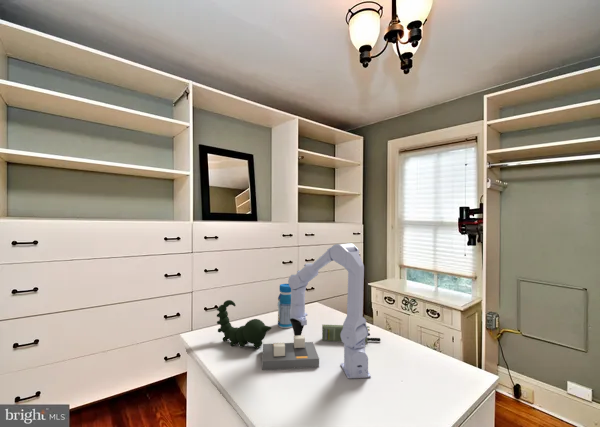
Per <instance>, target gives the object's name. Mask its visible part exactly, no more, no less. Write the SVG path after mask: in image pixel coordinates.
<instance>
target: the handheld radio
mask: <svg viewBox="0 0 600 427" xmlns="http://www.w3.org/2000/svg"><path fill="white" fill-rule="evenodd" d="M321 325H322V327H321V330H322V331H321V332H322V334H321V337H322V338H321V340H322V341H323V342H342V340H341V336H340V334H341V331H342V329H343V324H321ZM367 328H368V336H367V337H366V338H365V342H367V343H368V342H370V341H371V342H381V338H380V337H369V336H371V334H370V325H369V326H368V325H367Z"/></svg>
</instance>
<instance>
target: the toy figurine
mask: <svg viewBox="0 0 600 427" xmlns="http://www.w3.org/2000/svg"><path fill="white" fill-rule="evenodd" d="M229 306H233V307H237V306H236V303H235V301H234V300H231V299H227V300H225V301H224V302H223V304H220V305H219V306H218V307H217V308H216V311H217V312H218V313H217V314H216V317H217V318H219V320H217V321H216V324H217V325H220V328H219V327H218V329H217V333H223V335H224V336H223V337H222V342H228V341H229V344H230V346H231V347H232V346H233V347H234V346H235V345H236V344H238V346H239V347H240V348H243V347H244V346H245V344H246V343H249V344H252V345H253V347H254V348H255V349H259V348H261V347H262V346H263V340H265V337H266V335H267V332H268V331H270V330H271V329H272V326H268V325H266V324H265V323H264V321H262V320H261V319H259V318H253V319H250V320H248V321H247V322H245V324H244V325H241V326H239V327H234V326H233V325H232V323H231V322H230V317H229V312H228V310H227V309H228V307H229Z"/></svg>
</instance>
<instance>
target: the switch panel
mask: <svg viewBox="0 0 600 427" xmlns="http://www.w3.org/2000/svg"><path fill="white" fill-rule="evenodd" d="M274 343H275V342H273V343H262V358H261V359H262V362H261V363H262V366H261V370H262V371H271V370H272V371H273V370H274V371H275V370H290V369H291V370H292V369H293V370H294V369H306V368H307V369H309V368H320V357H319V355H318V352H317V348H316V347H315V344H314V341H305V348H294V342H284V343H285V356H274Z"/></svg>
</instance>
